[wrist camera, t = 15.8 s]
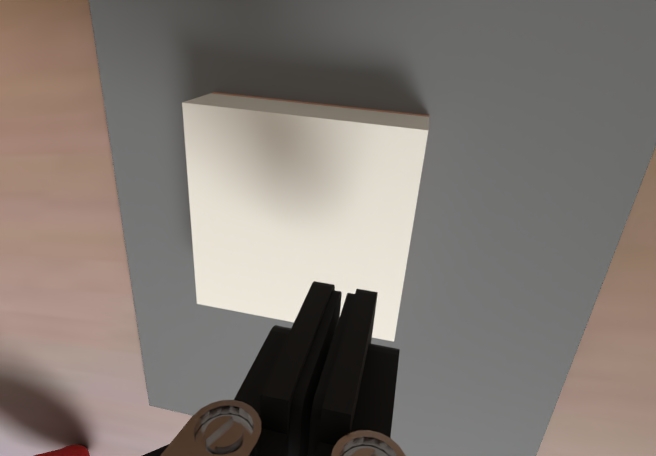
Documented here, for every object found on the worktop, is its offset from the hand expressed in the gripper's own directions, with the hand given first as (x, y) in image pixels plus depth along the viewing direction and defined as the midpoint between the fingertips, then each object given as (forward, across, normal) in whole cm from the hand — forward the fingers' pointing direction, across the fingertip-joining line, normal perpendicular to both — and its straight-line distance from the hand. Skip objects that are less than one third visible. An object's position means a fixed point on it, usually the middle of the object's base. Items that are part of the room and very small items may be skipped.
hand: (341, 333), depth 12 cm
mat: (+8, +1, 0) cm, 8 cm away
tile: (+6, -2, 0) cm, 6 cm away
